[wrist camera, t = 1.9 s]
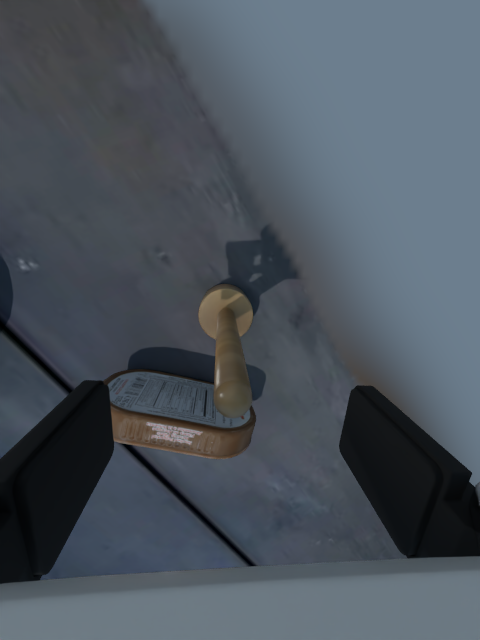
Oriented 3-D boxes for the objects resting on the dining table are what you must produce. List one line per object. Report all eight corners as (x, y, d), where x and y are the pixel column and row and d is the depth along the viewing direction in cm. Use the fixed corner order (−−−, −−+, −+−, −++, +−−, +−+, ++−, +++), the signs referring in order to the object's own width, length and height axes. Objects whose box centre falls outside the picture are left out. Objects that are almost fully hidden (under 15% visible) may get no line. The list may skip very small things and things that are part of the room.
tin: (113, 382, 26) (66, 442, 18) (118, 356, 25) (70, 407, 17) (245, 408, 28) (255, 472, 20) (253, 385, 28) (266, 442, 19)
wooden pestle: (201, 282, 24) (165, 346, 8) (251, 285, 24) (307, 351, 9) (200, 329, 25) (167, 462, 10) (247, 331, 26) (289, 461, 10)
